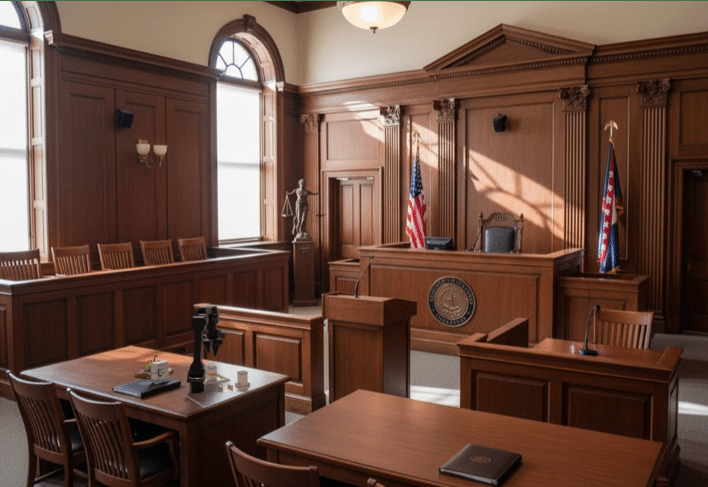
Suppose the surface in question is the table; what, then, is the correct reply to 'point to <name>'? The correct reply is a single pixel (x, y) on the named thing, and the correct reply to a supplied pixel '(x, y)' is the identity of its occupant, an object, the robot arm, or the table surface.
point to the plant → (149, 370)
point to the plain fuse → (242, 378)
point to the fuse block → (232, 387)
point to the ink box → (159, 370)
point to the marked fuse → (211, 373)
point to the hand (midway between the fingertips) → (211, 354)
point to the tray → (217, 379)
